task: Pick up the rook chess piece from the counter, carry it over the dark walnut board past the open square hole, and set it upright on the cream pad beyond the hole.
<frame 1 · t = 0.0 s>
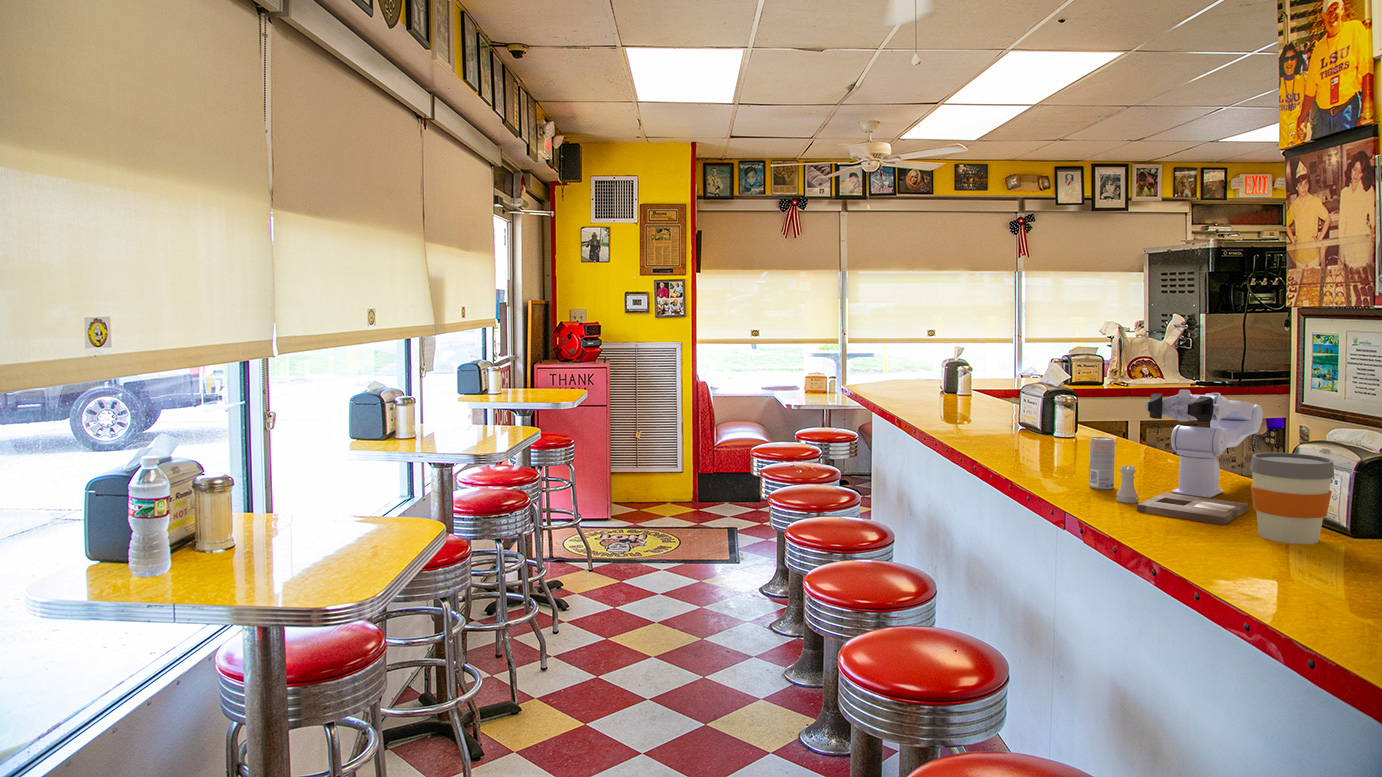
hand: (1169, 407, 173), 22 cm above the table, tool horizontal, fingers open, 7 cm apart
energy drink: (1101, 488, 196), on the table
hole board: (1192, 511, 171), on the table
reusable coffee cup: (1288, 538, 150), on the table
rook chess piece: (1126, 502, 181), on the table
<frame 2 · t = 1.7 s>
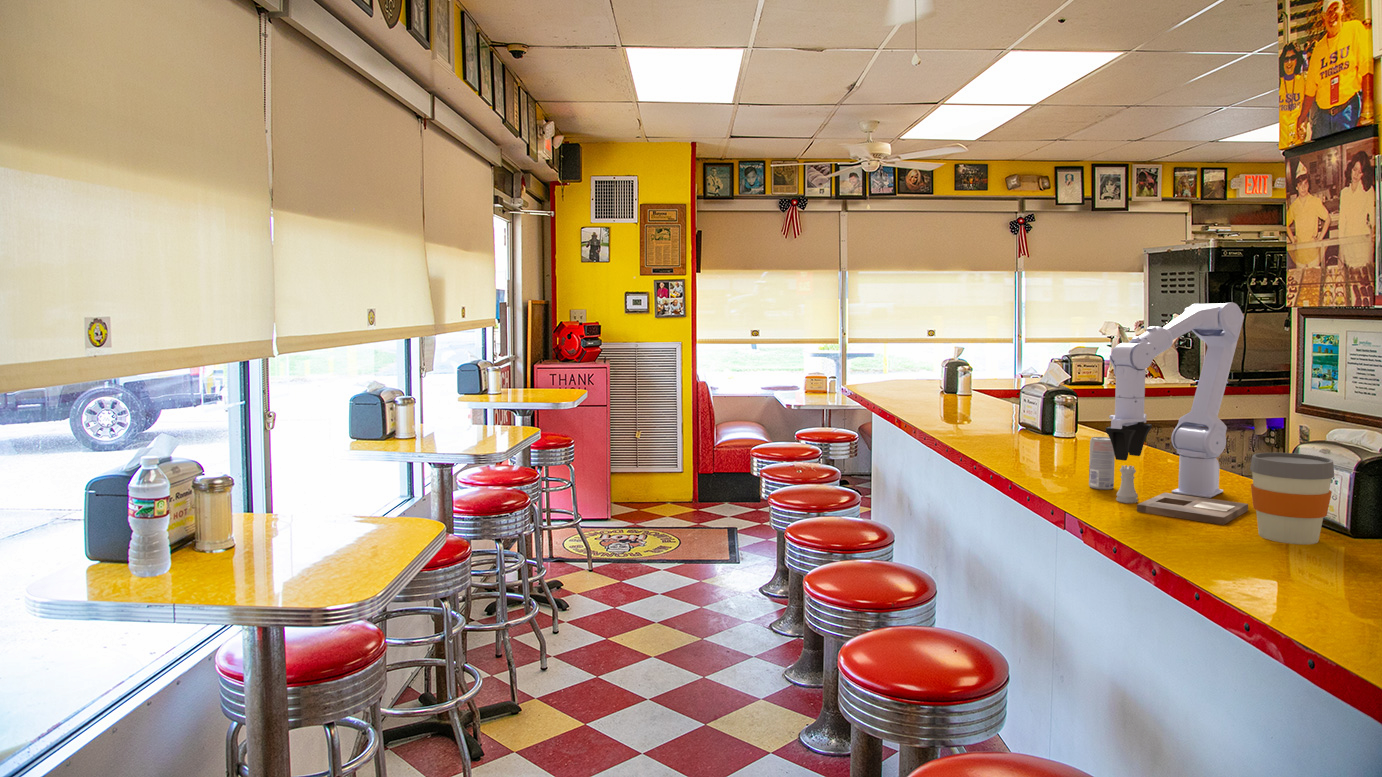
hand: (1128, 457, 180), 10 cm above the table, tool pointing down, fingers open, 7 cm apart
nothing on the table moved.
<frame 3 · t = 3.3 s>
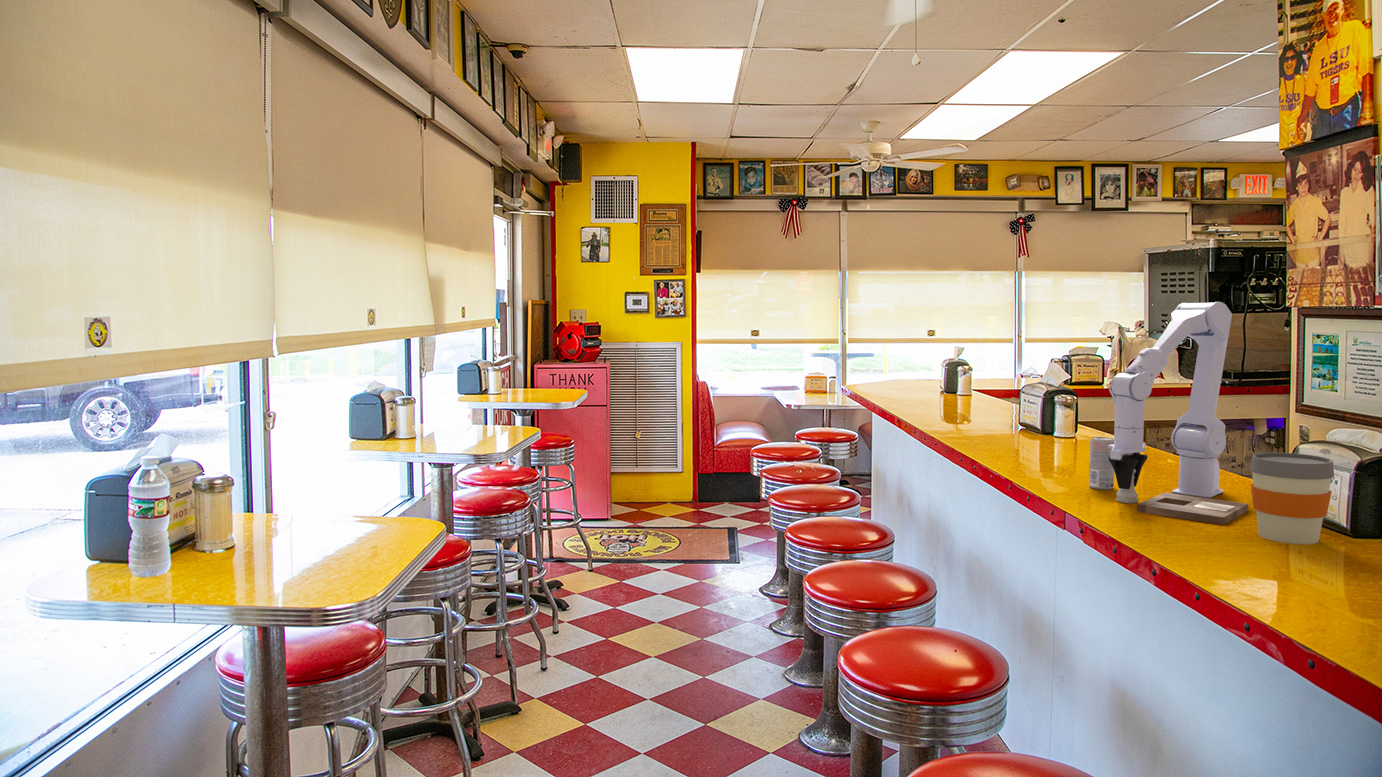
hand: (1127, 487, 180), 3 cm above the table, tool pointing down, fingers closed on rook chess piece, 3 cm apart
rook chess piece: (1126, 502, 181), on the table, touching gripper
everything else where it was.
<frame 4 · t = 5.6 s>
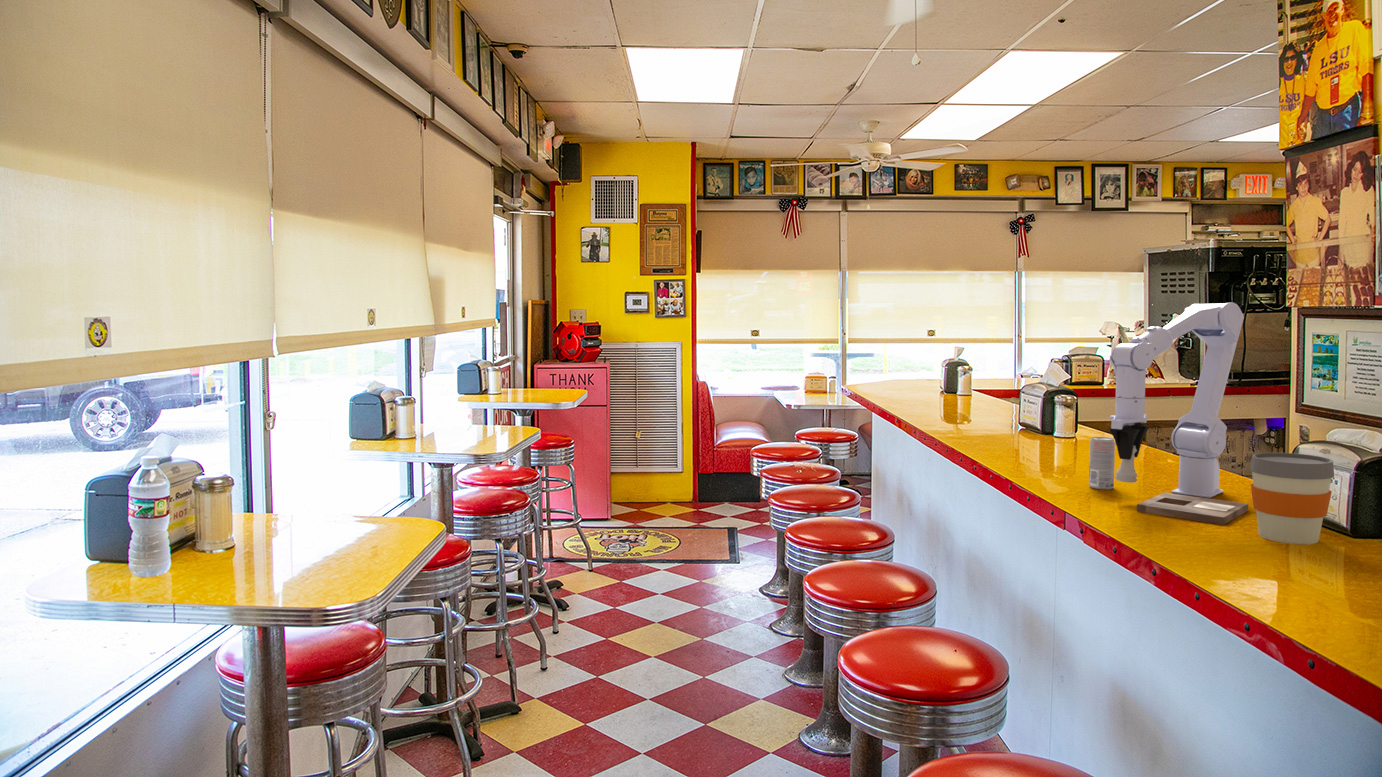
hand: (1128, 457, 180), 10 cm above the table, tool pointing down, fingers closed on rook chess piece, 3 cm apart
rook chess piece: (1125, 481, 180), point 5 cm above the table, touching gripper
everything else where it was.
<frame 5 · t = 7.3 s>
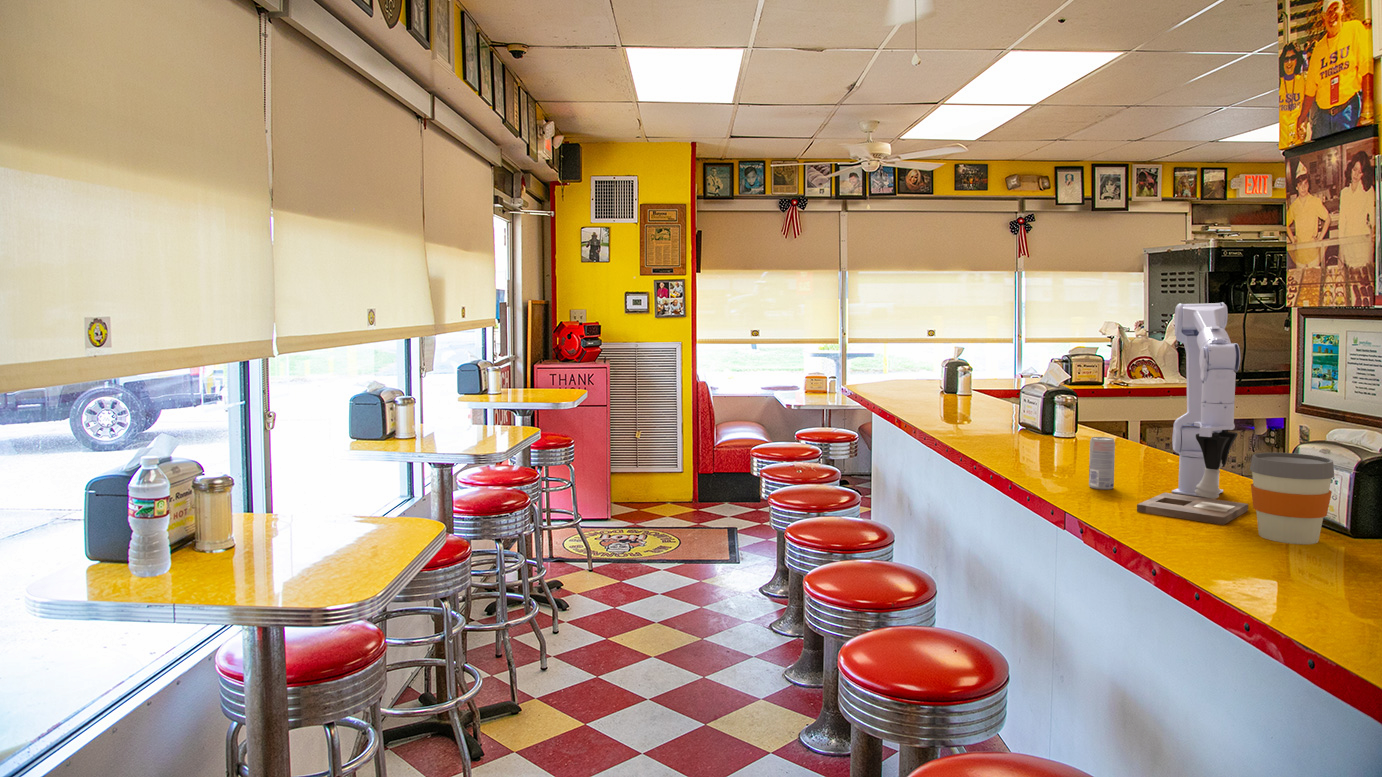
hand: (1215, 467, 167), 10 cm above the table, tool pointing down, fingers closed on rook chess piece, 3 cm apart
rook chess piece: (1206, 496, 169), point 4 cm above the table, touching gripper
everything else where it was.
when the fingers open (6 cm above the table, at t = 8.4 s): rook chess piece stays where it is, resting on hole board.
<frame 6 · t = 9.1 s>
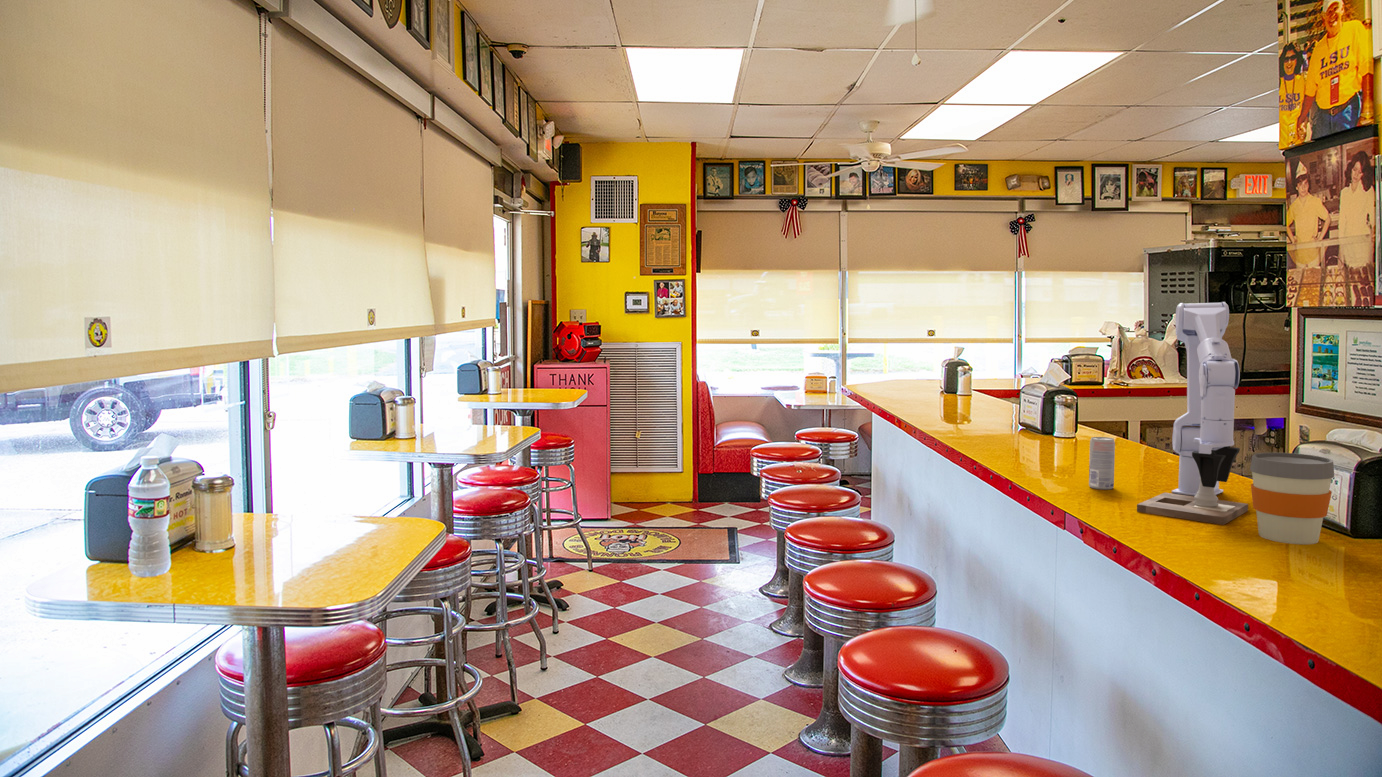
hand: (1214, 484, 167), 6 cm above the table, tool pointing down, fingers open, 7 cm apart
rook chess piece: (1205, 506, 169), point 2 cm above the table, touching hole board
everything else where it was.
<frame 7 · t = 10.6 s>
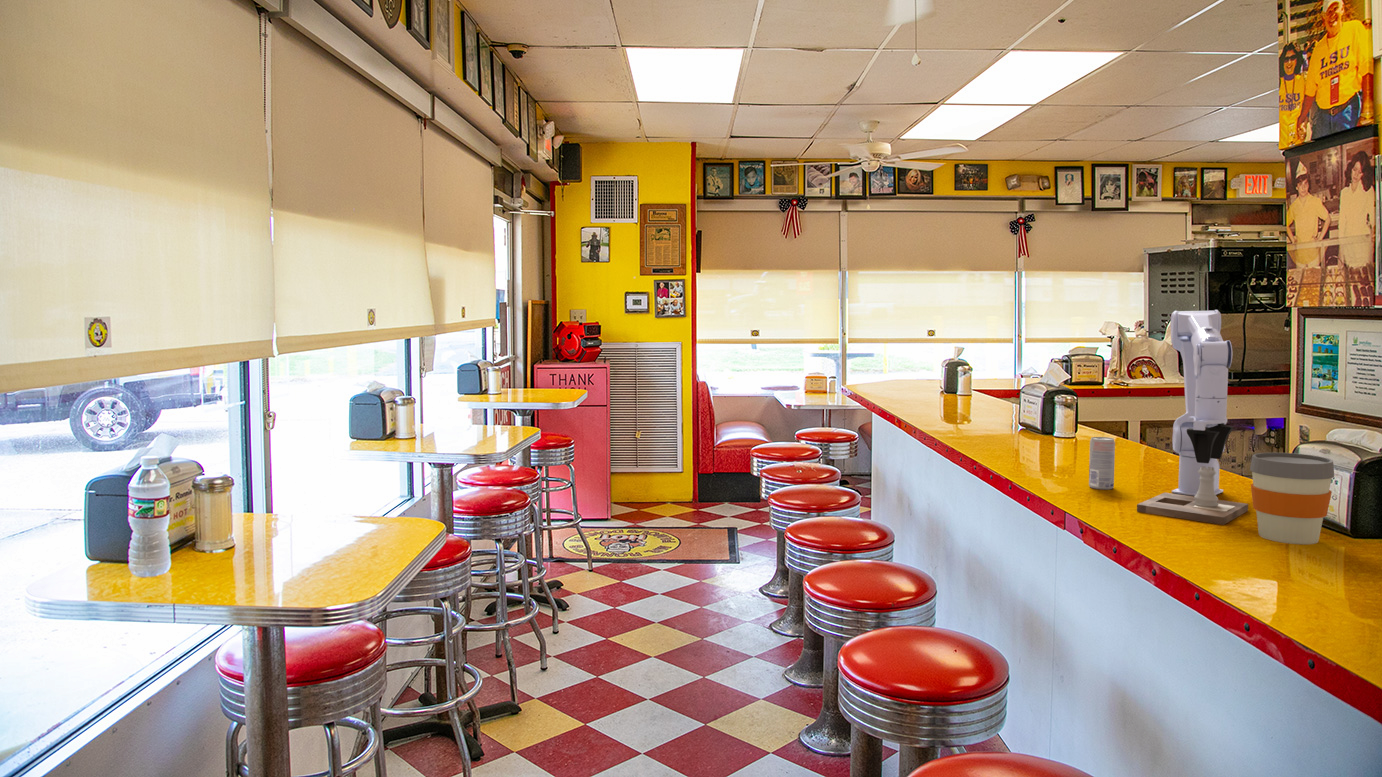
hand: (1208, 460, 173), 10 cm above the table, tool pointing down, fingers open, 7 cm apart
nothing on the table moved.
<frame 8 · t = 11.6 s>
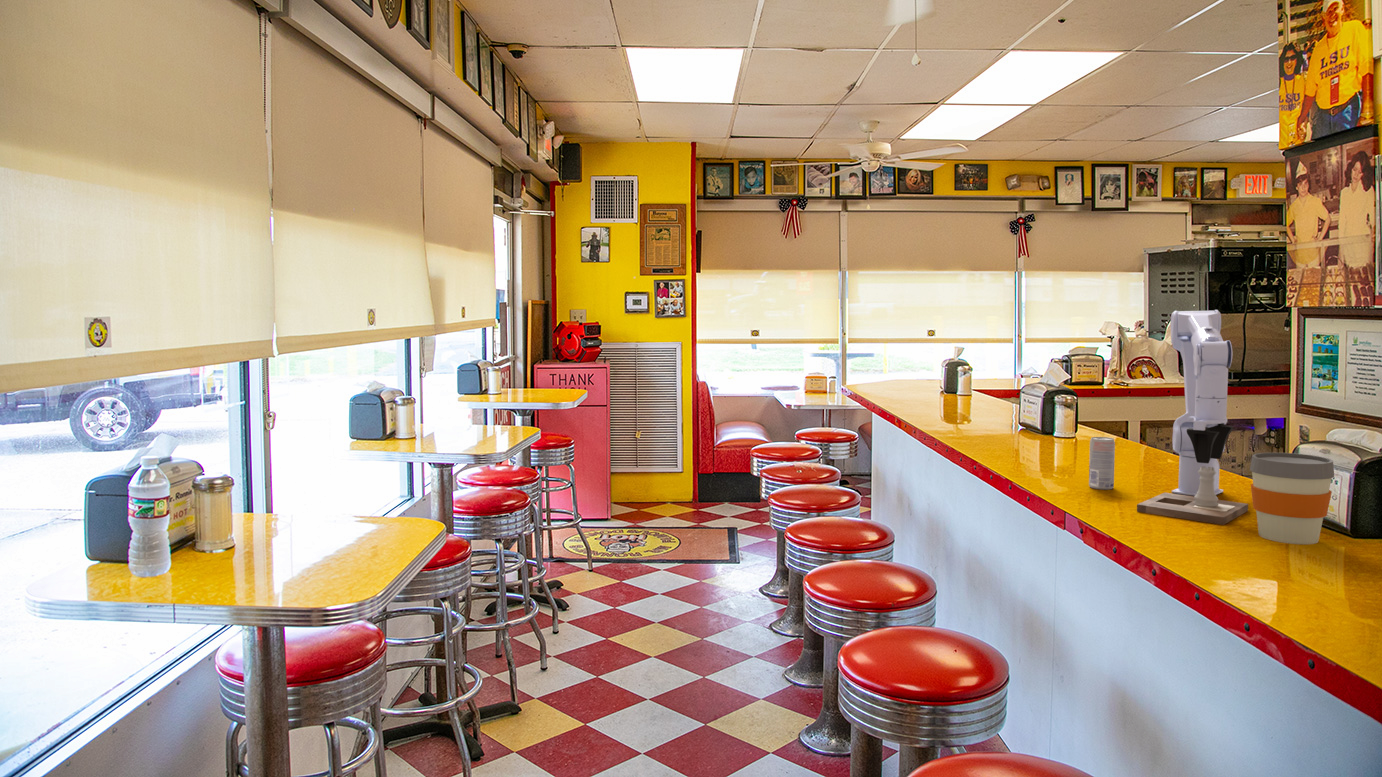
hand: (1208, 460, 173), 10 cm above the table, tool pointing down, fingers open, 7 cm apart
nothing on the table moved.
at the end: rook chess piece 1.4 cm from the target spot on the hole board, point 1.5 cm above the hole board's base; rook chess piece tilted 0°; the gripper is holding nothing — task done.
